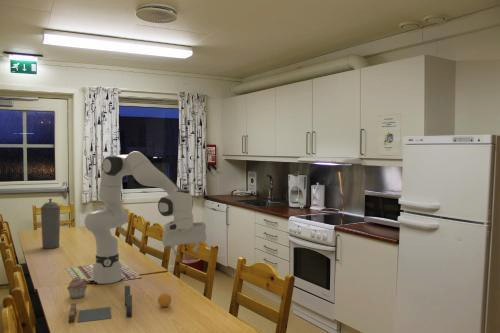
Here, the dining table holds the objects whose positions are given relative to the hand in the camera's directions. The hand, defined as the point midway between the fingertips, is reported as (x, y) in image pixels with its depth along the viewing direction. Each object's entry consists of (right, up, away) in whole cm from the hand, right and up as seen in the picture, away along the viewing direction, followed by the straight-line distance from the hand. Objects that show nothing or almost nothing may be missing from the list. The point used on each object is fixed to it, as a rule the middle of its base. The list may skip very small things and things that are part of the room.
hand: (185, 253), depth 195 cm
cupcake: (-54, -23, +9) cm, 59 cm away
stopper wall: (-46, -24, -15) cm, 54 cm away
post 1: (-26, -24, -2) cm, 35 cm away
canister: (-113, -18, +107) cm, 157 cm away
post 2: (-22, -24, -14) cm, 36 cm away
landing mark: (-38, -24, -13) cm, 46 cm away
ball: (-9, -21, -3) cm, 23 cm away
